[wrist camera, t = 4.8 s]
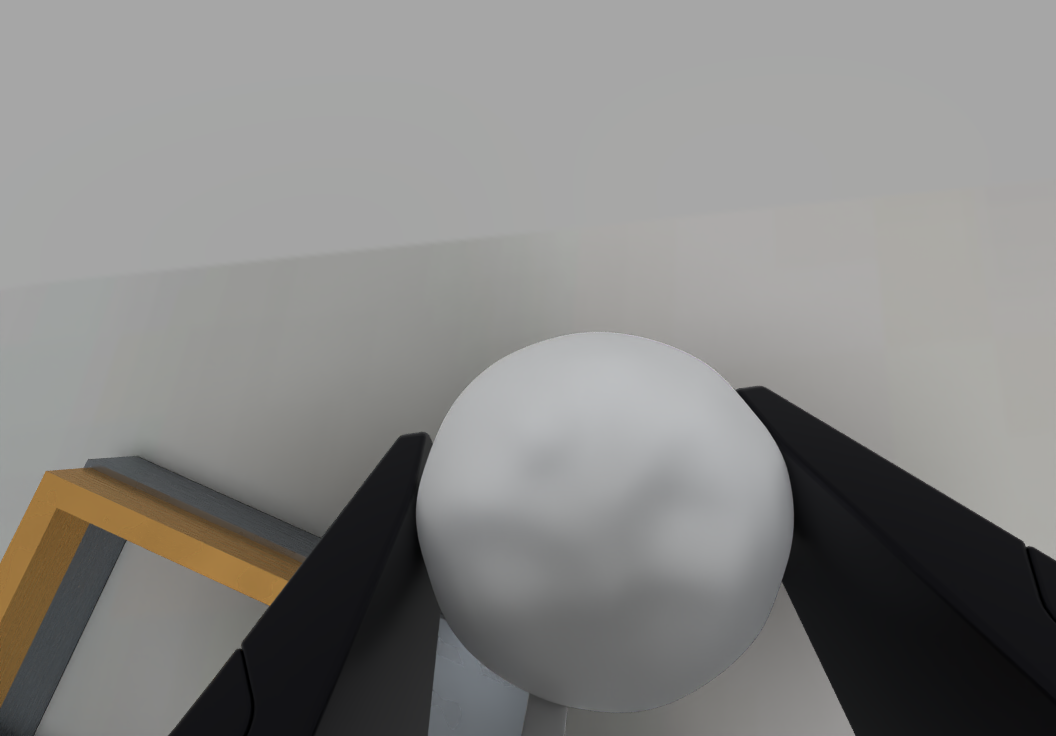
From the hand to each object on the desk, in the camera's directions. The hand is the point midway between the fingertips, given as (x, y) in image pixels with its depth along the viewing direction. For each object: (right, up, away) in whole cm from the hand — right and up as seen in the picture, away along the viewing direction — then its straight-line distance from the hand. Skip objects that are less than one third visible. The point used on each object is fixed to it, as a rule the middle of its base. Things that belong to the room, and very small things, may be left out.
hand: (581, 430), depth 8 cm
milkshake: (0, -2, +7) cm, 7 cm away
